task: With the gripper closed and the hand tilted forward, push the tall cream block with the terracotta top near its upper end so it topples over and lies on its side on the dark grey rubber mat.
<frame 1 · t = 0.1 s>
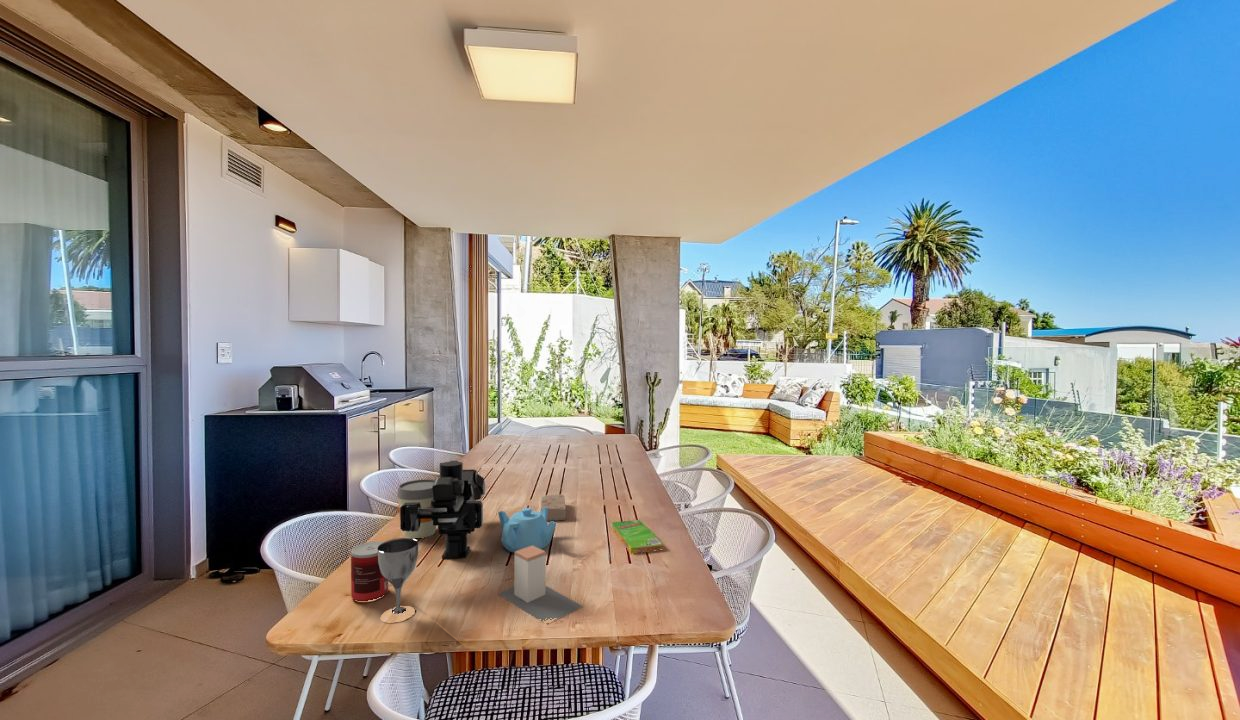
hand: (433, 528, 110), 17 cm above the table, tool horizontal, fingers open, 9 cm apart
brick: (552, 514, 169), on the table
teapot: (527, 546, 142), on the table
reusable coffee cup: (419, 534, 150), on the table
wine glass: (398, 615, 105), on the table
game box: (635, 540, 148), on the table
tall block: (529, 594, 113), point 1 cm above the table, touching rubber mat
rubber mat: (539, 602, 110), on the table
canned food: (370, 595, 113), on the table
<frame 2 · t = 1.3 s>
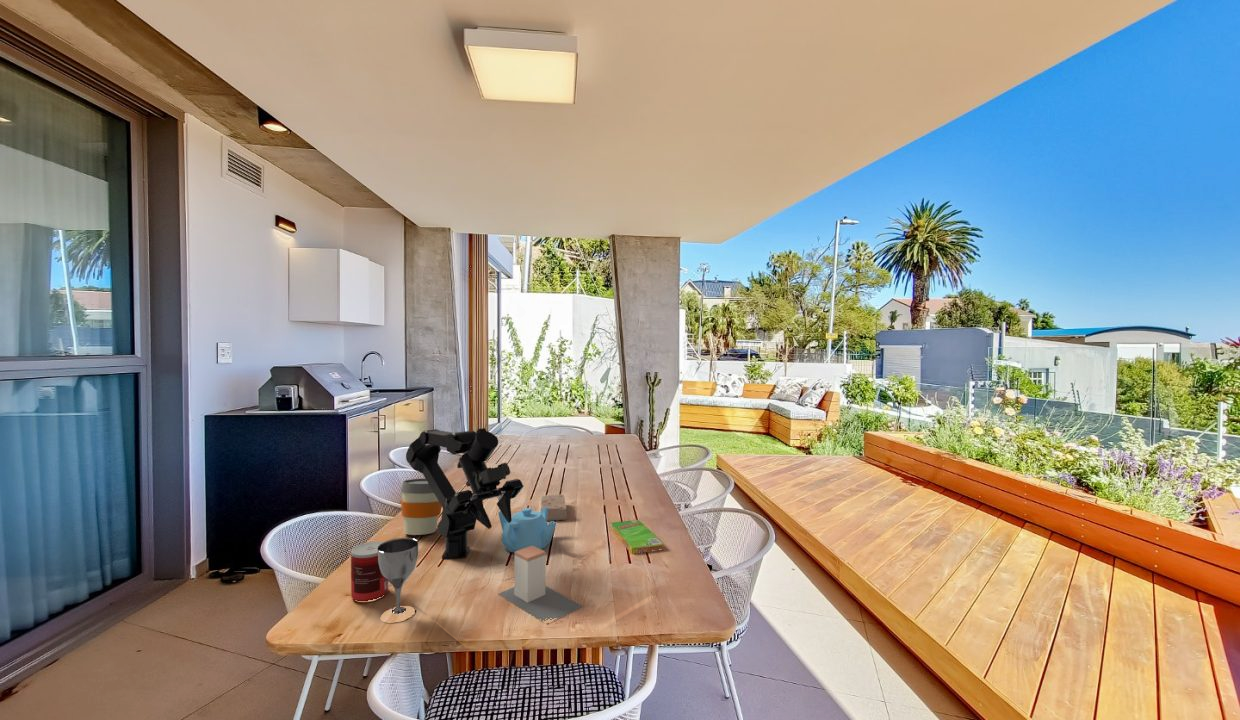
hand: (500, 524, 120), 14 cm above the table, tool tilted 45°, fingers open, 5 cm apart
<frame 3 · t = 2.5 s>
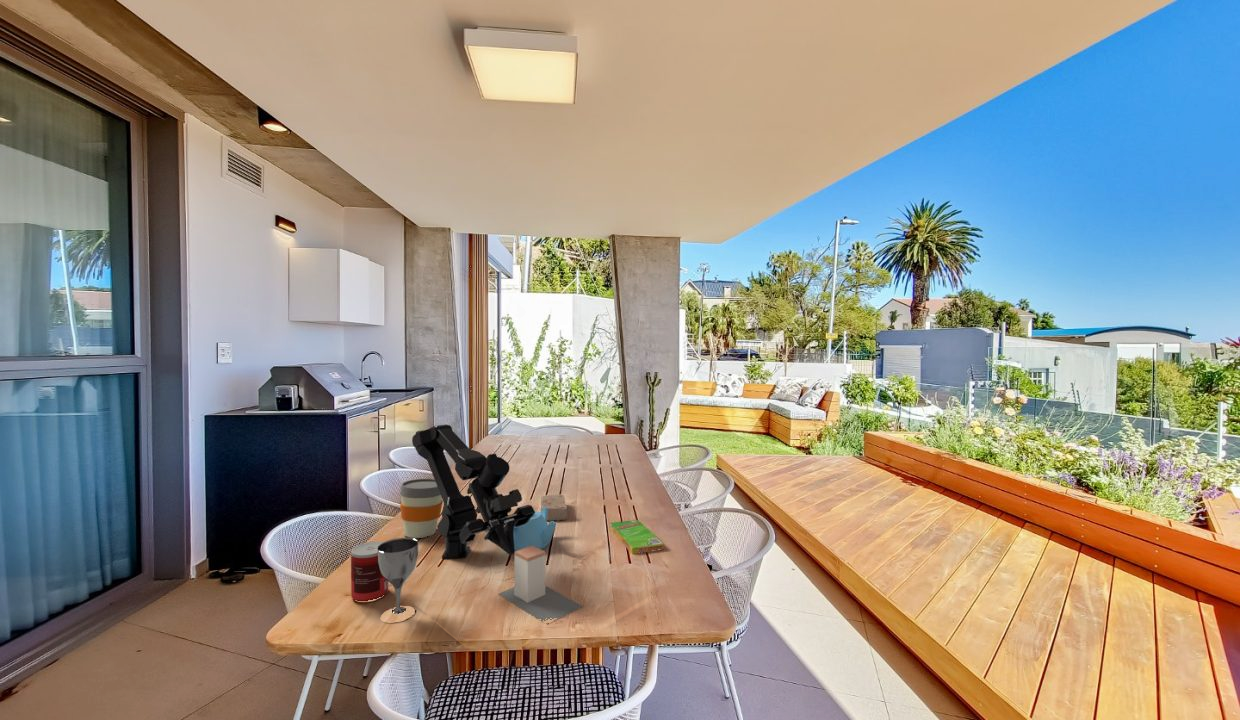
hand: (512, 554, 117), 8 cm above the table, tool tilted 45°, fingers closed
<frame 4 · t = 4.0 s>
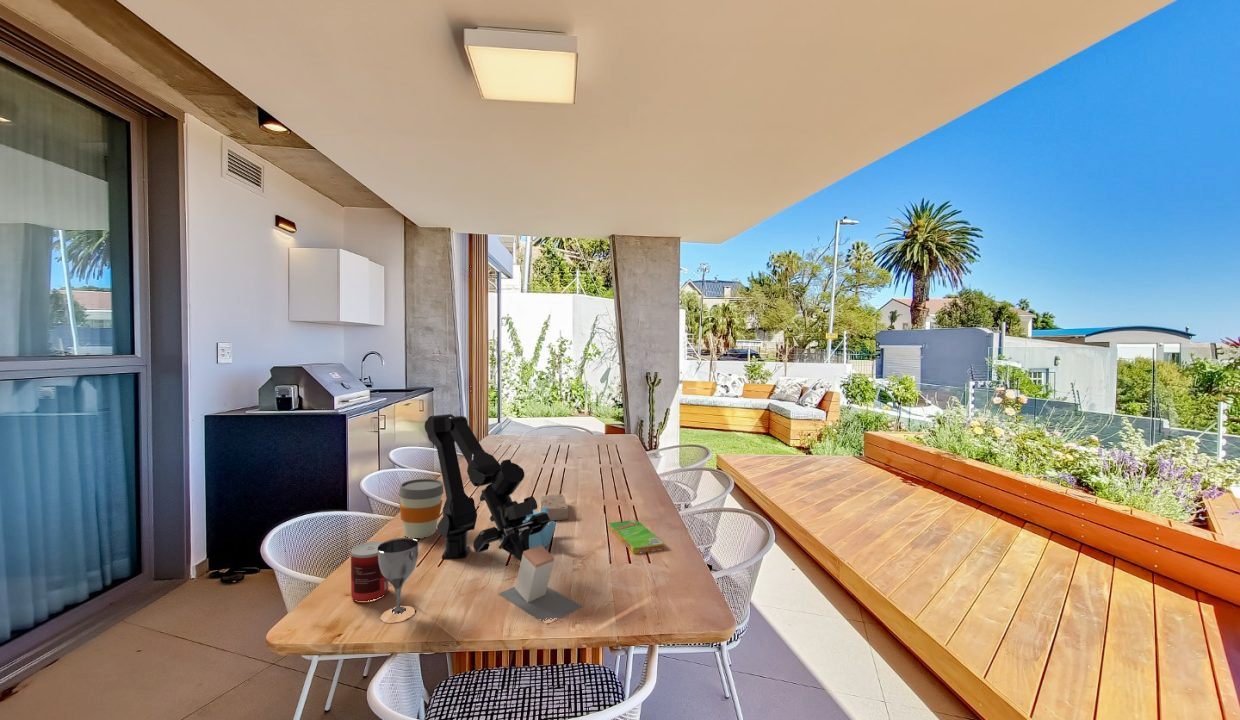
hand: (528, 564, 113), 7 cm above the table, tool tilted 45°, fingers closed
tall block: (530, 591, 112), point 1 cm above the table, tilted 18°, touching rubber mat
everything else where it was.
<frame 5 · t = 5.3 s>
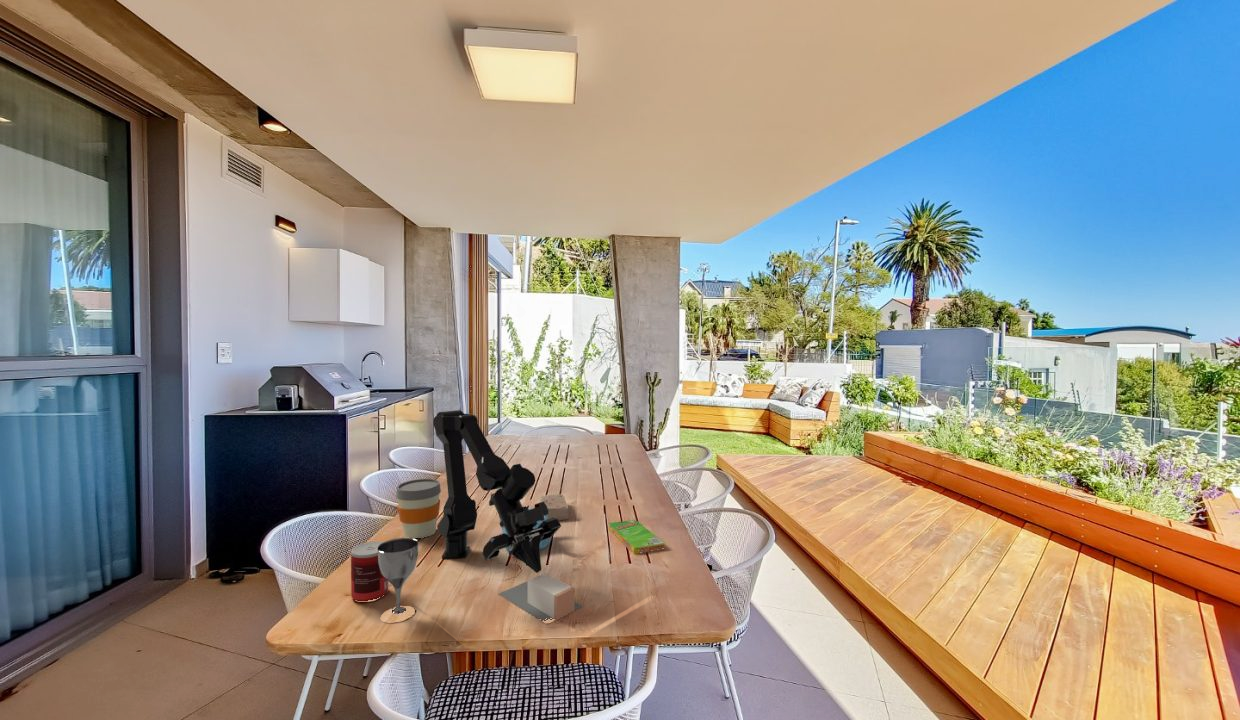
hand: (539, 571, 110), 7 cm above the table, tool tilted 45°, fingers closed
tall block: (536, 587, 111), point 3 cm above the table, tilted 90°, touching rubber mat
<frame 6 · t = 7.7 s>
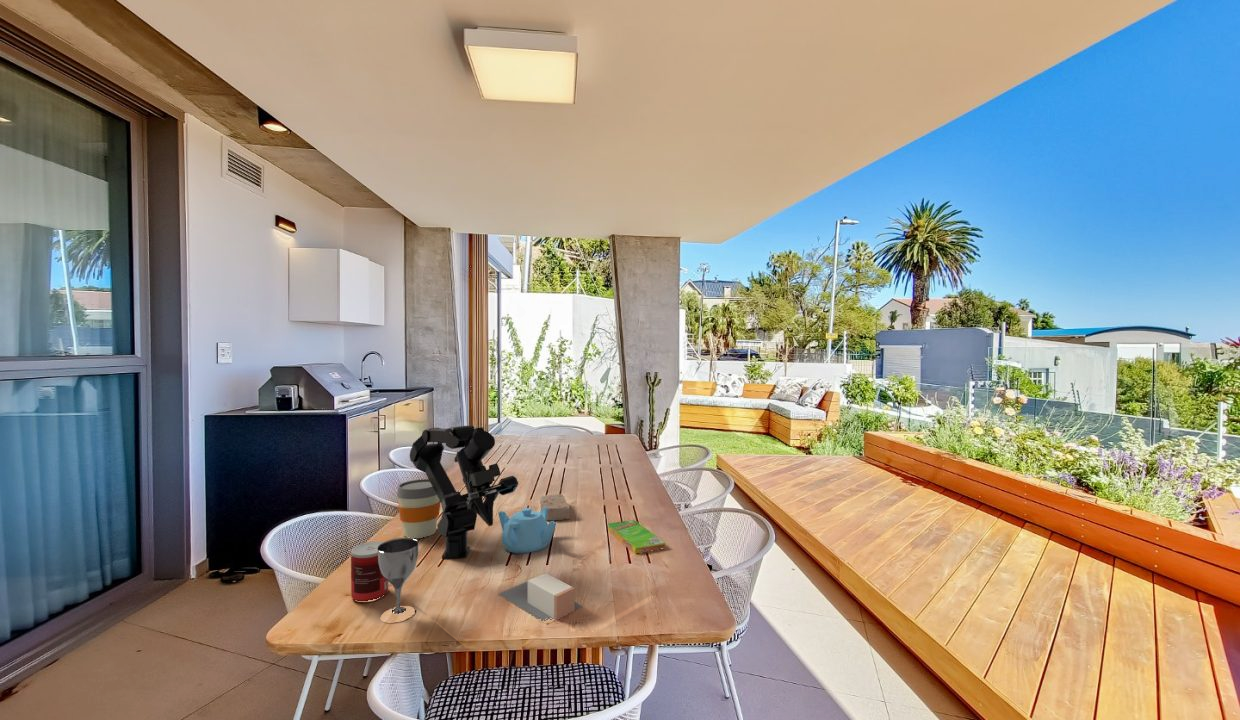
hand: (491, 525, 122), 13 cm above the table, tool tilted 40°, fingers closed
nothing on the table moved.
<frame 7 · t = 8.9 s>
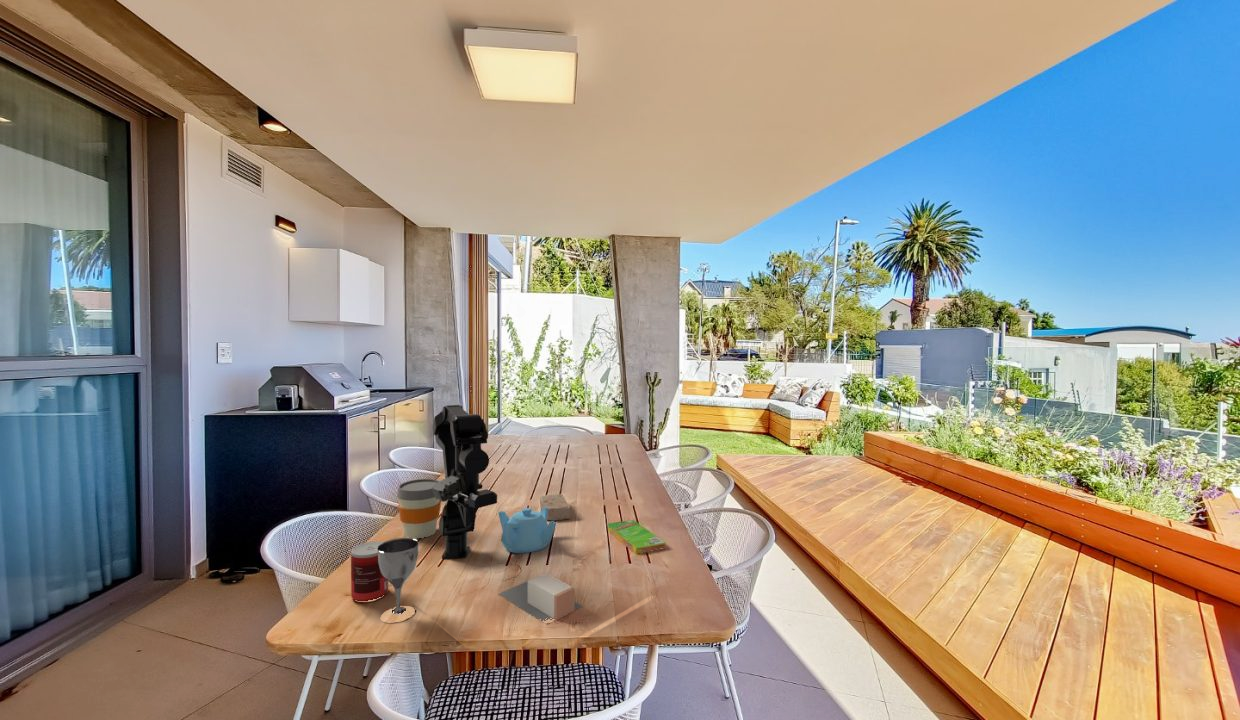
hand: (467, 526, 124), 12 cm above the table, tool pointing down, fingers closed
nothing on the table moved.
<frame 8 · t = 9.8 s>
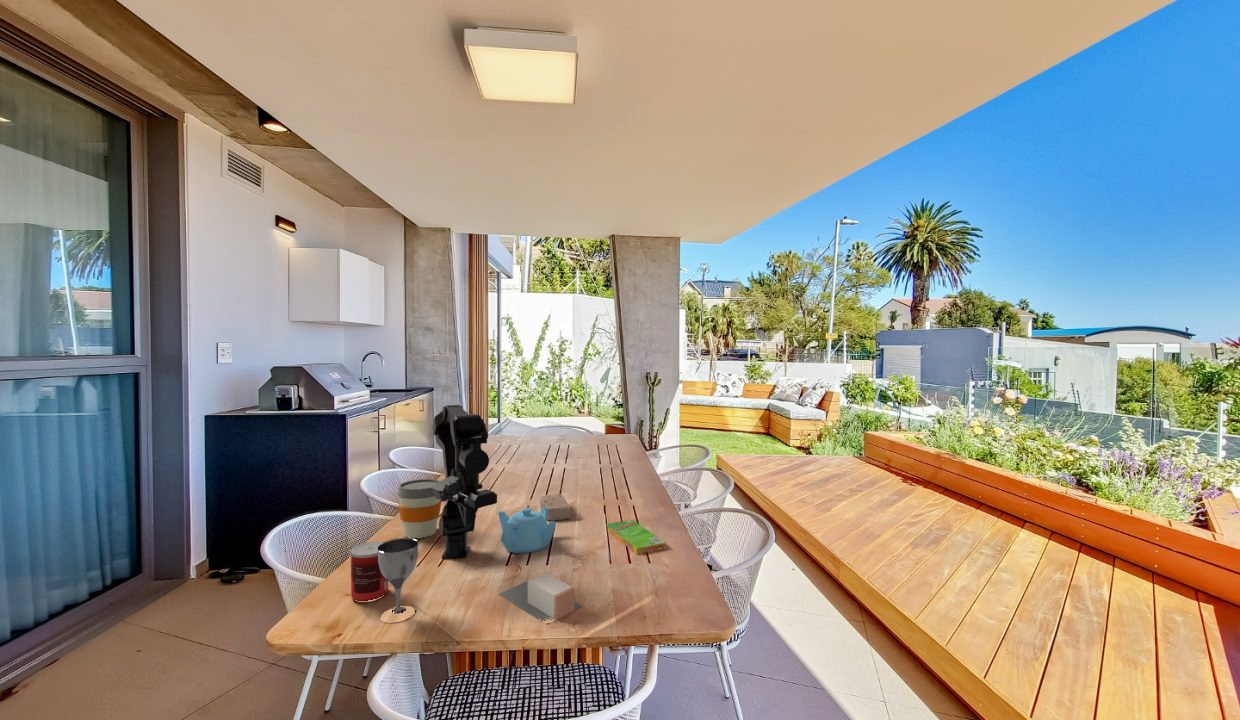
hand: (467, 526, 124), 12 cm above the table, tool pointing down, fingers closed
at the end: tall block tilted 90°; tall block touching rubber mat; tall block inside the target area (2.0 cm from its centre), point 3.1 cm above the table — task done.
